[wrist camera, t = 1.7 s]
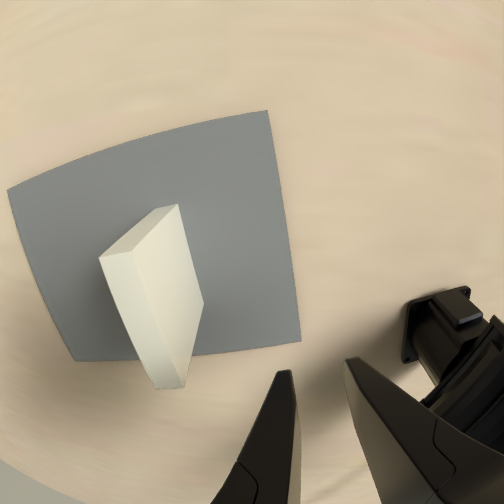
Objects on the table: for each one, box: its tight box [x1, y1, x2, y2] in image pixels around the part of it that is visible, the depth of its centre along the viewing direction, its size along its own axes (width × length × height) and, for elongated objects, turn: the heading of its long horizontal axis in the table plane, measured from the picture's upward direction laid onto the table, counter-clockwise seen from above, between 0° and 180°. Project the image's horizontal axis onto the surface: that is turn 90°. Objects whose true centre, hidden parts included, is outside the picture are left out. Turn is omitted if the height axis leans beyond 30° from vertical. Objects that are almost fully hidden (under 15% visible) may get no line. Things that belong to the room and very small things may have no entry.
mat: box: [7, 110, 302, 361], centre depth 20 cm, size 16×20×1 cm
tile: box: [99, 204, 204, 389], centre depth 16 cm, size 7×2×8 cm, turn 10°
